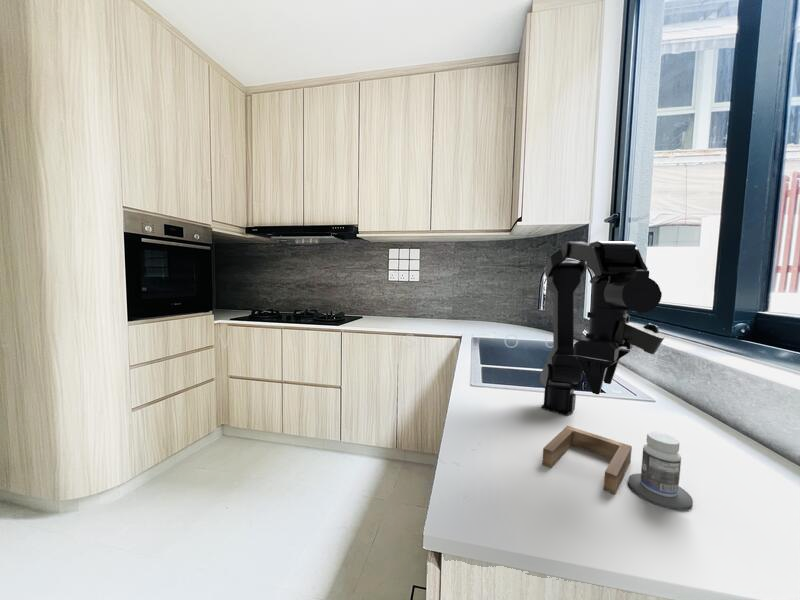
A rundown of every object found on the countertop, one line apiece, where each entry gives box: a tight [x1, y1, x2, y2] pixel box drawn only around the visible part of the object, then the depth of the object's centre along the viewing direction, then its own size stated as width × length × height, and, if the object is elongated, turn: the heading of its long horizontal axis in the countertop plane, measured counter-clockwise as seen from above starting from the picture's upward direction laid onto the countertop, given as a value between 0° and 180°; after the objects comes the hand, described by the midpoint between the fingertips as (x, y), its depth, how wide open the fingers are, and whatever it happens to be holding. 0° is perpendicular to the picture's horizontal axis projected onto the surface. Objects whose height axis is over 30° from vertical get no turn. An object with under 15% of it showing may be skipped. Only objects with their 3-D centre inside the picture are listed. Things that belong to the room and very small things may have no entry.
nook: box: [541, 425, 633, 495], centre depth 59 cm, size 11×14×3 cm
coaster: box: [627, 473, 693, 511], centre depth 51 cm, size 8×8×1 cm
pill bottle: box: [640, 431, 682, 497], centre depth 51 cm, size 5×5×8 cm
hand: (601, 388), depth 62 cm, fingers open, 9 cm apart
